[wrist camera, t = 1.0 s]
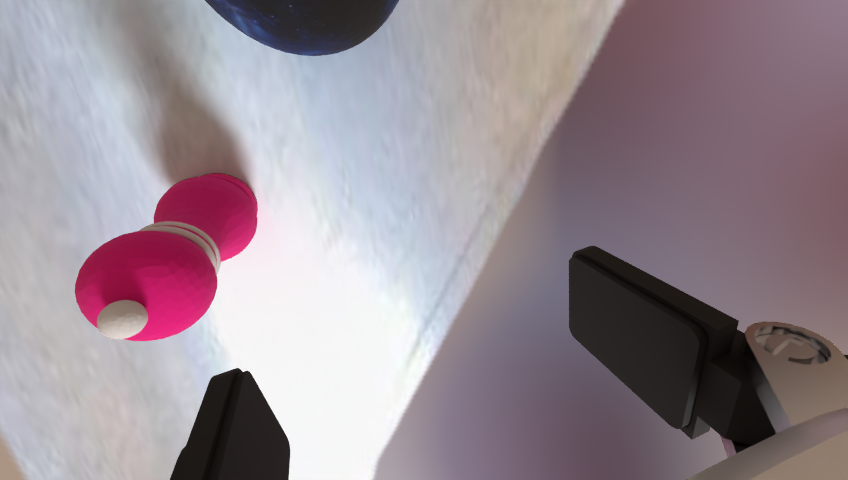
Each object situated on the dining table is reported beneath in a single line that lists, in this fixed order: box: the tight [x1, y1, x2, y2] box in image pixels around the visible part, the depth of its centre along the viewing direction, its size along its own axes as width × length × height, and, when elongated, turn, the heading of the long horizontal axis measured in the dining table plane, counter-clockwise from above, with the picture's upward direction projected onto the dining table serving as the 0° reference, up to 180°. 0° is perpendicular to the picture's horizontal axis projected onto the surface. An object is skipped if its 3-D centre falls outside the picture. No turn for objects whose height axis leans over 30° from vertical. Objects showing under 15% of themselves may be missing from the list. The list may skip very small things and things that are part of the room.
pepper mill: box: [75, 173, 258, 341], centre depth 24 cm, size 7×7×20 cm
